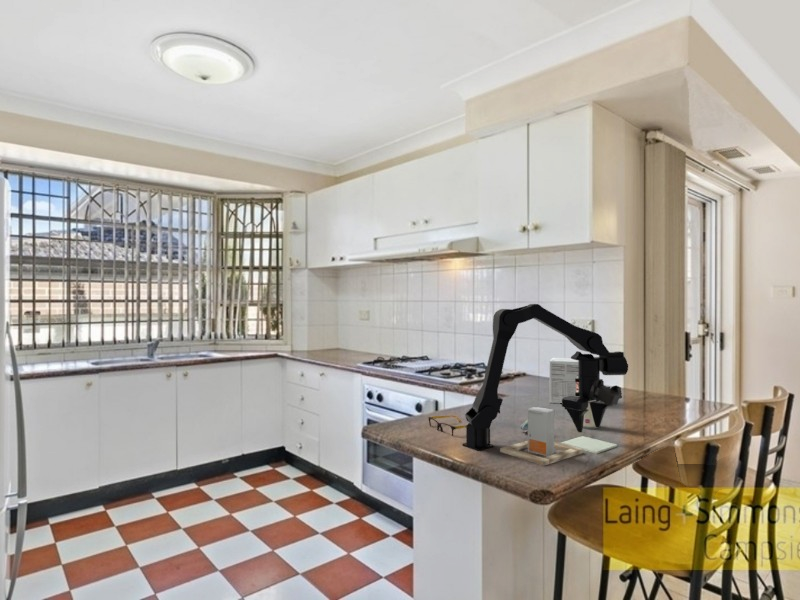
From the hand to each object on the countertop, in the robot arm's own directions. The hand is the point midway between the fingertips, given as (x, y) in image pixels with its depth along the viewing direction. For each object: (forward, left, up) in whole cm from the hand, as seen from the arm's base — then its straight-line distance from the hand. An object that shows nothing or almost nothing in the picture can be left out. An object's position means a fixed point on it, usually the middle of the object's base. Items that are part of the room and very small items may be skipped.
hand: (588, 429), depth 137 cm
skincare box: (-17, +4, -5) cm, 18 cm away
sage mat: (0, 0, -4) cm, 4 cm away
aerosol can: (+19, +12, -5) cm, 23 cm away
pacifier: (-3, +18, -6) cm, 19 cm away
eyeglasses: (-18, +35, -5) cm, 40 cm away
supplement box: (+50, +40, -5) cm, 64 cm away
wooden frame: (-17, +4, -4) cm, 18 cm away
